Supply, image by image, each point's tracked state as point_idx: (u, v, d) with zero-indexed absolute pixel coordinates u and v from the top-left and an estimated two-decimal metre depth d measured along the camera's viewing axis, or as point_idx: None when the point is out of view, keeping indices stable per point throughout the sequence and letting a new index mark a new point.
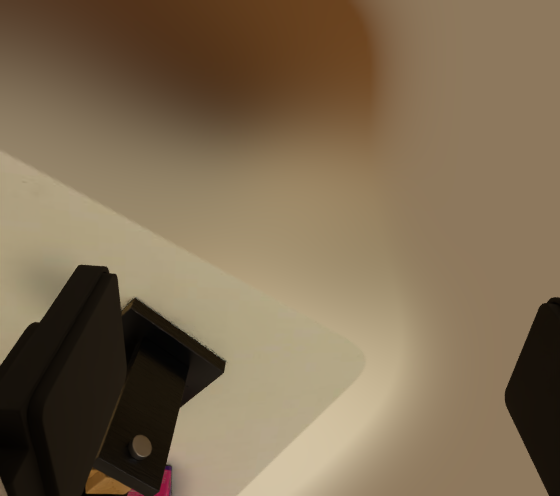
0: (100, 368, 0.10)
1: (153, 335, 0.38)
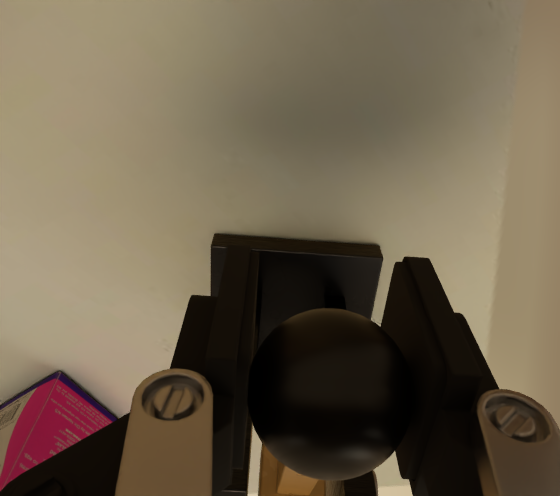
0: None
1: (355, 304, 0.25)
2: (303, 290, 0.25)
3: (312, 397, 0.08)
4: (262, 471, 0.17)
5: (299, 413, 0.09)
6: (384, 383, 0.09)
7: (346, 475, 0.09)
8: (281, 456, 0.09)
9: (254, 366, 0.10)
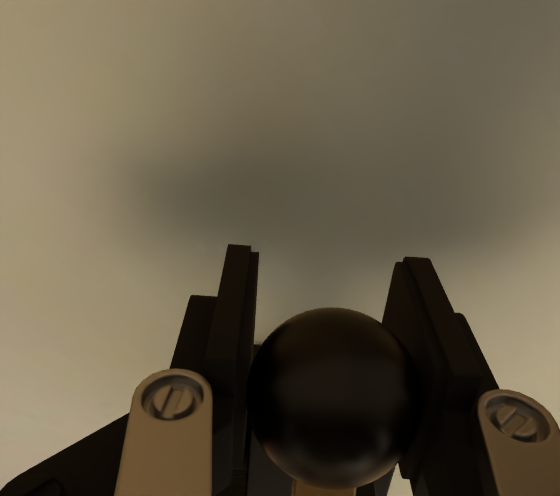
0: None
1: None
2: None
3: (316, 336, 0.09)
4: None
5: (304, 352, 0.08)
6: (385, 334, 0.09)
7: (361, 434, 0.08)
8: (287, 417, 0.08)
9: (255, 356, 0.09)
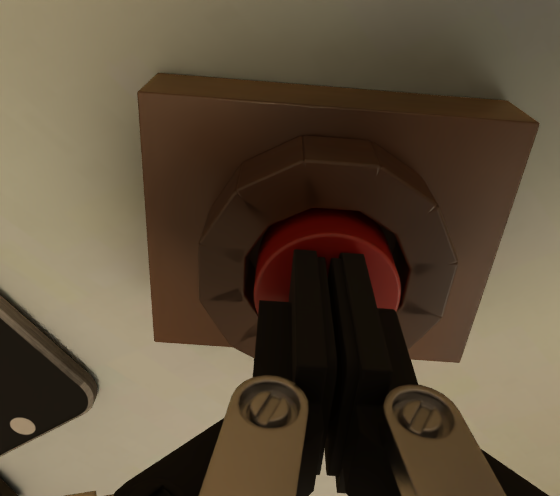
0: None
1: None
2: None
3: None
4: None
5: None
6: None
7: None
8: None
9: None
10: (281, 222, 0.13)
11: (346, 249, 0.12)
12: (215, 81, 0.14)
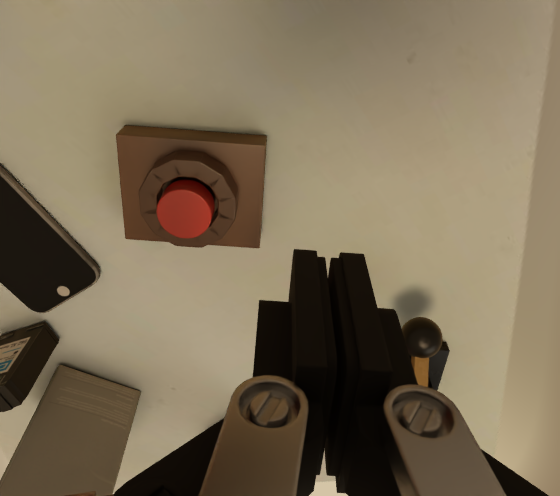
0: None
1: (432, 373, 0.46)
2: None
3: (417, 320, 0.39)
4: None
5: (416, 322, 0.39)
6: None
7: (430, 337, 0.38)
8: (414, 335, 0.38)
9: None
10: (168, 186, 0.34)
11: (187, 195, 0.33)
12: (147, 128, 0.35)
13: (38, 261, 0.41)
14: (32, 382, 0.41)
